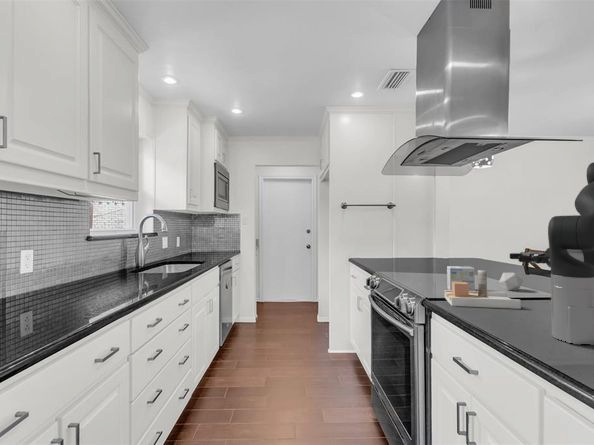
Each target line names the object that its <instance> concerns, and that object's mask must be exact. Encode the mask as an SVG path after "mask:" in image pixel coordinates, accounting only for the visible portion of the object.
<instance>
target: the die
mask: <svg viewBox="0 0 594 445" xmlns="http://www.w3.org/2000/svg"><path fill="white" fill-rule="evenodd" d="M523 282H524V280H523V279H522V278H521V277H520V276H519V275H518V274H517V273H515V272H502V274H501V277H500V279H499V282H498V283H499V284H500V285H501V287H503V288H504V289H505V290H508V291H510V290H514V291H519V290H520V288H521V285H522V284H523ZM510 292H511V291H510Z"/></svg>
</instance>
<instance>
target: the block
mask: <svg viewBox="0 0 594 445" xmlns="http://www.w3.org/2000/svg"><path fill="white" fill-rule="evenodd" d="M452 294H453V295H454V296H455V297H469V284H468V283H466V282H454V281H452Z"/></svg>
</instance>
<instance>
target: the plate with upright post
mask: <svg viewBox="0 0 594 445" xmlns="http://www.w3.org/2000/svg"><path fill="white" fill-rule="evenodd" d="M487 275H488V273H487V270H486V269H478V270H477V291H478V293H469V297H464V298H489V297H487V291H488V280H487V279H488V276H487ZM445 295H446V296H447V297H448V298H449V299H450V300H451V297H455V296H454V295H453V294H452V292H445V291H444V296H445Z"/></svg>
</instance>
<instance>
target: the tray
mask: <svg viewBox="0 0 594 445" xmlns="http://www.w3.org/2000/svg"><path fill="white" fill-rule="evenodd" d="M445 292H452V290H449V289H445V290H444V293H445ZM469 293H478V290H475V291H469ZM487 297H489V298H464V297H451V300H450V299H449V298H448V297H447V296H446V295H445V294H444V299H445V300H446V301H447V302H448V303H449V304H450V305H451V306H452V307H466V308H467V307H471V308H472V307H473V308H491V309H492V308H494V309H495V308H497V309H515V310H516V309H519V310H520V309H522V302H521V299H515V298H510V297H508V292H507V291H488V290H487Z"/></svg>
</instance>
